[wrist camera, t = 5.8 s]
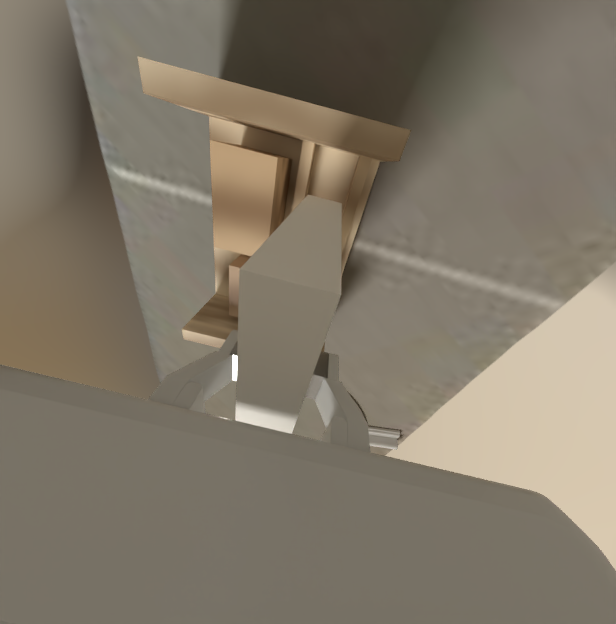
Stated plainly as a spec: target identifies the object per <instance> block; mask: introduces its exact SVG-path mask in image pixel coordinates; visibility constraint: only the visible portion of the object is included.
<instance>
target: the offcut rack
mask: <svg viewBox="0 0 616 624" xmlns="http://www.w3.org/2000/svg"><path fill="white" fill-rule="evenodd" d="M138 62H139V68H140V74H141V80H142V86H143V93H145V94H148V95H150V96H153V97H156V98H159V99H162V100H165V101H168V102H170V103H173V104H176V105H179V106H182V107H185V108H187V109H190V110H193V111H196V112H199V113H202V114H204V115H207V116H209V127H210V140H214V141H220V142H226V143H231V144H237V145H242V146H246V147H250V148H254V149H257V150H261V151H265V152H269V153H273V154H276V155H280V156H284V157H288V158H292V166H291V173H290V180H289V187H288V194H287V202H286V209H285V216H284V220H285V219H286V218H287V217H288V216H289V215H290V214H291V213H292V212H293V210H294V209H295V208H296V207H297V206H298V205H299V204H300V203H301V202H302V201H303V200H304V198H305V197H306V196H307V195H312V196H316V197H319V198H323V199H327V200H331V201H335V202H339V203H342V245H341V277H342V274H343V271H344V268H345V265H346V262H347V259H348V256H349V253H350V250H351V247H352V244H353V241H354V238H355V235H356V232H357V229H358V226H359V223H360V220H361V217H362V214H363V211H364V208H365V205H366V202H367V199H368V196H369V193H370V190H371V187H372V184H373V181H374V178H375V175H376V172H377V169H378V166H379V163H380V162H384V161H400V158H401V156H402V153H403V150H404V148H405V145H406V143H407V140H408V137H409V135H410V132H411V130H408V129H404V128H401V127H397V126H393V125H390V124H386V123H382V122H379V121H375V120H371V119H367V118H364V117H360V116H356V115H353V114H349V113H345V112H341V111H338V110H334V109H330V108H327V107H323V106H319V105H315V104H312V103H308V102H304V101H301V100H297V99H293V98H289V97H286V96H282V95H278V94H275V93H271V92H267V91H264V90H260V89H256V88H252V87H249V86H245V85H241V84H238V83H234V82H230V81H226V80H223V79H219V78H215V77H212V76H208V75H204V74H200V73H197V72H193V71H189V70H186V69H182V68H178V67H174V66H171V65H167V64H163V63H160V62H156V61H152V60H148V59H145V58H141V57H138ZM240 255H241V254H240V253H236V252H232V251H228V250H224V249H220V248H216V247H214V258H215V284H216V294H215V295H214V296H213V297H212V298H211V299H210V300H209V301H208V302H207V303H206V304H205V305H204V306H203V308H202V309H201V310H200V311H199V312H198V313H197V314H196V315H195V316H194V317H193V318H192V319H191V320H190V321H189V322H188V323H187V324H186V325H185V326H184V328H183V329H182V333H183V339H185V340H189V341H194V342H198V343H202V344H206V345H210V346H214V347H218V348H221V347H222V345H223V343H224V342H225V340H226V339H227V337H228V336H229V334H230V333H231V331H232V330H237V331H238V317H234V316H230V315H229V265H230V264H231V263H232V262H233V261H234V260H235V259H236V258H237V257H238V256H240ZM324 345H325V342H324ZM324 345H323V347H322V350H321V351H322V352H324Z"/></svg>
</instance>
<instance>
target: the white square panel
mask: <svg viewBox="0 0 616 624" xmlns="http://www.w3.org/2000/svg"><path fill="white" fill-rule="evenodd" d="M341 245H342V203H339V202H335V201H331V200H327V199H323V198H319V197H316V196H312V195H307V196H306V197H305V198H304V200H303V201H302V202H301V203H300V204H299V205H298V206H297V207H296V208H295V209H294V210H293V212H292V213H291V214H290V215H289V216H288V217H287V218H286V219H285V220H284V221H283V222H282V224H281V225H280V226H279V227H278V228H277V229H276V230H275V231H274V232H273V233H272V234H271V235H270V237H269V238H268V239H267V240H266V241H265V242H264V243H263V244H262V245H261V246H260V247H259V249H258V250H257V251H256V252H255V253H254V254H253V255H252V256H251V257H250V258H249V259H248V261H247V262H246V263H245V264H244V265H243V266H242V267H241V268H240V269H239V307H238V345H237V383H236V421H240V422H244V423H248V424H252V425H257V426H261V427H265V428H269V429H273V430H278V431H282V432H286V433H290V434H292V431H293V429H294V426H295V423H296V420H297V417H298V415H299V412H300V409H301V406H302V403H303V401H304V398H305V395H306V392H307V389H308V387H309V384H310V381H311V378H312V375H313V373H314V370H315V367H316V364H317V361H318V359H319V356H320V353H321V350H322V347H323V345H324V342H325V339H326V336H327V333H328V331H329V328H330V325H331V322H332V319H333V317H334V314H335V311H336V308H337V305H338V303H339V300H340V297H341Z"/></svg>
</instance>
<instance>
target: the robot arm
mask: <svg viewBox="0 0 616 624" xmlns="http://www.w3.org/2000/svg"><path fill="white" fill-rule="evenodd" d="M237 345H238V331H237V330H232V331H231V333H230V334H229V336H228V337H227V339H226V340H225V342H224V343H223V345H222V347H221V348H220V350H219V351H218V352H217V351H215V352H213V353H211V354H209V355H207V356H205V357H203V358H201V359H199V360H197V361H195V362H193V363H191V364H189V365H187V366H185V367H183V368H181V369H179V370H177V371H175V372H173V373H171V374H169V375H167V376H166V378H165V379H164V380H163V381H162V383H161V384H160V385H159V387H158V388H157V389H156V390H155V391H154V393H153V394H152V395H151V396H150V398H149V399H148V400H147V399H143V398H138V397H134V396H130V395H126V394H121V393H117V392H113V391H109V390H105V389H101V388H96V387H92V386H88V385H84V384H79V383H76V382H71V381H67V380H63V379H59V378H54V377H50V376H46V375H42V374H38V373H34V372H29V371H25V370H21V369H17V368H12V367H8V366H4V365H0V624H616V571H615V569H614V568H613V567H612V565H611V564H610V562H609V561H608V559H607V558H606V556H605V555H604V554H603V553H602V551H601V550H600V549H599V547H598V546H597V545H596V544H595V543H594V542H593V541H592V540H591V539H590V538H589V537H588V536H587V535H586V534H585V533H584V532H583V531H582V530H581V529H580V528H579V527H578V526H577V525H576V524H575V523H574V522H573V521H572V520H571V519H570V518H569V517H568V516H567V515H566V514H565V513H564V512H562V510H560V509H559V508H558V507H557V506H556V505H555V504H554V503H553V502H551V501H550V500H549V499H548V498H547V497H545V496H544V495H542V494H540V493H537V492H534V491H530V490H526V489H522V488H518V487H514V486H510V485H505V484H501V483H497V482H492V481H488V480H484V479H480V478H475V477H472V476H467V475H463V474H459V473H454V472H450V471H446V470H442V469H437V468H434V467H429V466H425V465H421V464H417V463H413V462H408V461H404V460H400V459H395V458H391V457H387V456H383V455H379V454H375V453H370V442H369V432H368V423H367V422H366V420H365V418H364V417H363V415H362V414H361V412H360V411H359V409H358V407H357V406H356V404H355V403H354V401H353V399H352V398H351V396H350V395H349V393H348V392H347V390H346V388H345V387H344V385H343V384H342V382H340V381H339V356H338V355H335V354H331V353H327V352H322V351H321V353H320V356H319V359H318V361H317V364H316V367H315V370H314V373H313V375H312V378H311V381H310V384H309V387H308V389H307V392H306V395H305V397H307V398H311V399H315V401H316V404H317V406H318V409H319V411H320V414H321V416H322V419H323V421H324V424H325V426H326V430H325V432H324V433H323V435H322V437H321V439H320V440H316V439H311V438H307V437H303V436H299V435H295V434H290V433H286V432H282V431H278V430H273V429H269V428H265V427H261V426H257V425H252V424H248V423H244V422H240V421H235V420H231V419H227V418H223V417H218V416H214V415H210V414H206V412H205V404H204V402H205V401H206V400H207V399H209V398H210V397H211V396H213V395H214V394H215V393H217V392H218V391H219V390H221V389H222V388H223V387H225V386H226V385H227V384H228V383H230V382H231V381H232V380H236V381H237Z"/></svg>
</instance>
